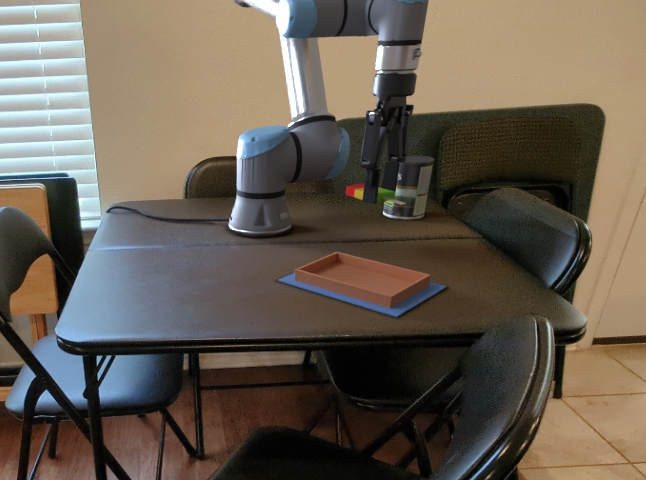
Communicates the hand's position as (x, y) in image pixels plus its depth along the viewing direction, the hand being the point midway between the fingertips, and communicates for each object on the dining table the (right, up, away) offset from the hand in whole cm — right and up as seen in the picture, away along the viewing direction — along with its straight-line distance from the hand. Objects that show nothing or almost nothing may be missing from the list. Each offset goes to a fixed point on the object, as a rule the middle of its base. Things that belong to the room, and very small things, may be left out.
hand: (378, 198), depth 118 cm
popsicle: (0, -1, 0) cm, 1 cm away
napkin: (-6, -18, -7) cm, 20 cm away
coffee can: (+18, +5, +34) cm, 39 cm away
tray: (-6, -18, -7) cm, 20 cm away
